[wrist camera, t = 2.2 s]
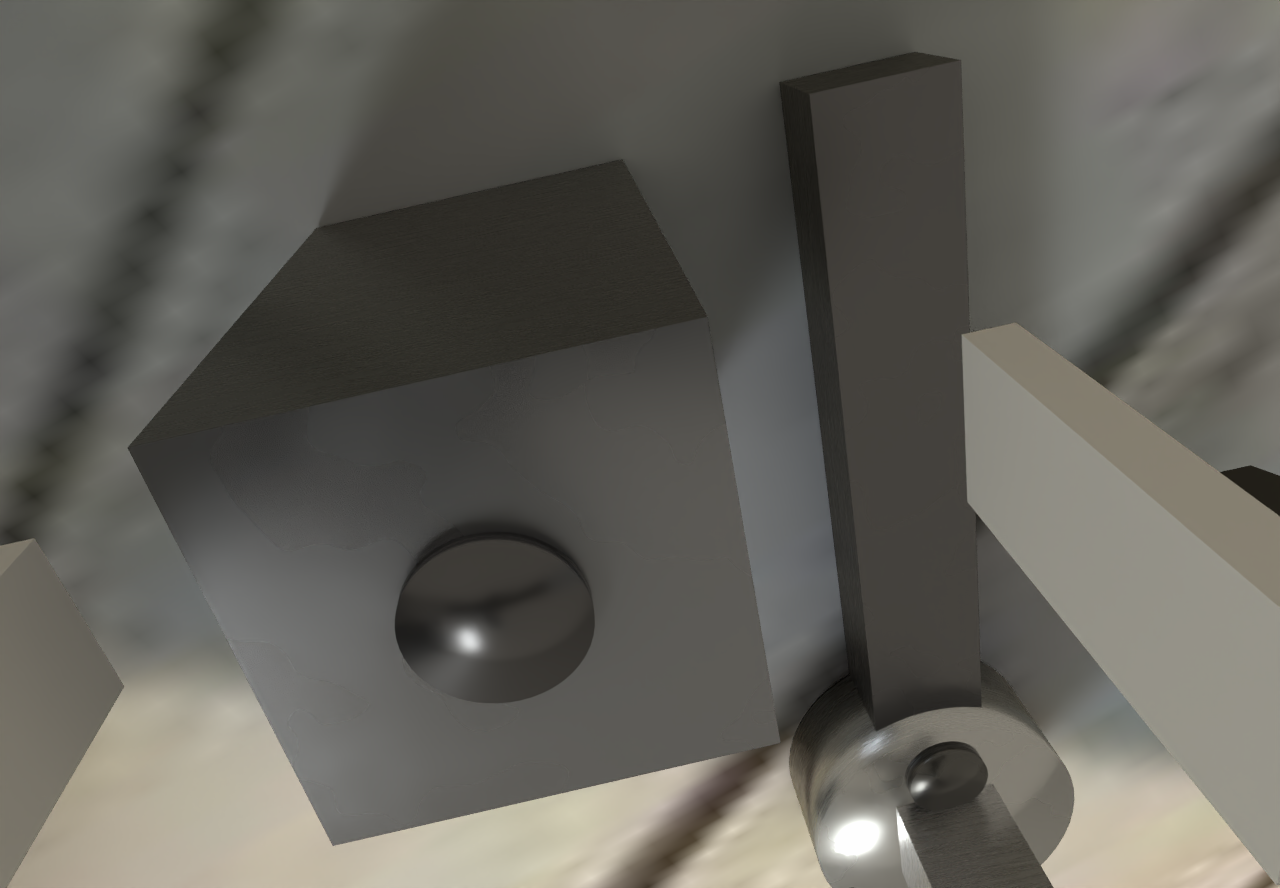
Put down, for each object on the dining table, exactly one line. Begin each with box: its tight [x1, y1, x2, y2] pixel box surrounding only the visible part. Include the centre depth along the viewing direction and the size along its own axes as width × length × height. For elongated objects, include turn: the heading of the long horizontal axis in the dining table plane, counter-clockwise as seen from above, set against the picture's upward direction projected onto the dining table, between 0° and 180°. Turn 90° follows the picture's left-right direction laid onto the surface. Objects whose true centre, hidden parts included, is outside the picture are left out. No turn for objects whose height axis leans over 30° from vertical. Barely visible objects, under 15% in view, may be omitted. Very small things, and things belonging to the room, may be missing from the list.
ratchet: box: [780, 52, 1074, 888], centre depth 21 cm, size 7×22×6 cm, turn 11°
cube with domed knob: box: [128, 160, 780, 846], centre depth 16 cm, size 6×6×10 cm
